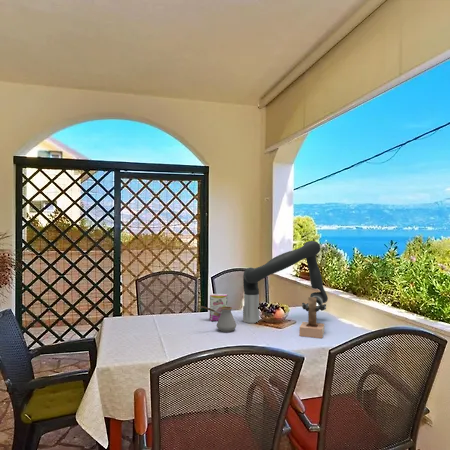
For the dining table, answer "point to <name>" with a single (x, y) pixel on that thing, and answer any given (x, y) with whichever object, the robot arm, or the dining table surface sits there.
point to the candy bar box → (217, 305)
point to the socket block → (311, 330)
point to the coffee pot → (224, 319)
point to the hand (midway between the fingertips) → (311, 309)
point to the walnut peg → (312, 311)
